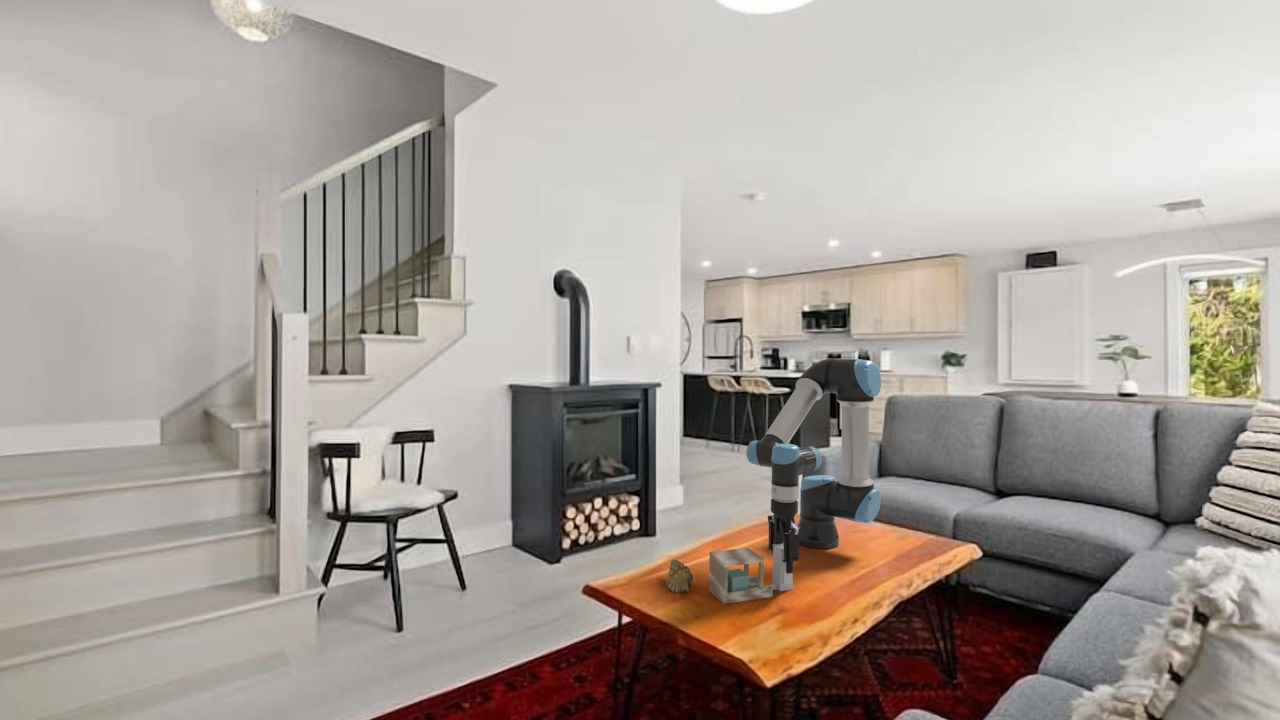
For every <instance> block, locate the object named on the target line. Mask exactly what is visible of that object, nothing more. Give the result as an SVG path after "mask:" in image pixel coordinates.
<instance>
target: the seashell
mask: <svg viewBox="0 0 1280 720" xmlns="http://www.w3.org/2000/svg"><path fill="white" fill-rule="evenodd" d="M668 574H669V575H668V578H667V579H666V581H665V584H666V586H667V588H668V590H670V591H671V592H673V593H684V592H689V589H690V588H689V586H688V585H689V584H691V583H693V581H694V575H693V573H692V572H691V568H689V566H687V565H685V563H682V561H679V560H678V559H675V558H674V559H672V560H671V562H670V566H669V570H668Z"/></svg>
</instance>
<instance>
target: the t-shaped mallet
mask: <svg viewBox="0 0 1280 720" xmlns="http://www.w3.org/2000/svg"><path fill="white" fill-rule="evenodd" d="M783 560H785V556H784V545H783V544H774V545H773V554H772V584H769V585H767V584H766V585H763V587H770V586H771V587H772V588H773V591H776V590H777V591H779V592H783V591H785V592H786V591H790V590H791V591H793V583H794V582H793V579H794V576H793V575H794V574H793V573H794V572H793V573H792V584H785V585H784V584H782V576H783ZM749 577H750V575H748V574H746V573H745V572H744V570H742V569H740V568H736V569H735V568H734V569H728V590H727V592H734V591H741V590H749V589H756V588H758V586H751V587H748V581H749Z"/></svg>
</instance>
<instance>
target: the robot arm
mask: <svg viewBox="0 0 1280 720" xmlns="http://www.w3.org/2000/svg"><path fill="white" fill-rule="evenodd" d="M881 387H882V376H881V374H880V370H879V367H878V366H877V365H876V363H875V362H874V361H871V360H867V359H860V358H859V359H857V358H855V359H853V358H851V359H850V358H848V359H847V358H846V359H845V358H826V359H822V360H820V361H817V362H815V364H813V365H811V366H810V367H808V368H807V369H806V370H805V371H804V372H803V373H802V374H801V375H800V376H799V378H798V379H797V381H796V383H795V389H794V390H793V392H792V394H791V395H790V397H789V398H788V400H787V401H786V403H785V404H784V406H783V407H782V409H781V410H780V411H779V413H778V414H777V415H776V418H775V419H774V421H773V422H772V424H771V425H770V426H769V428H768V429H767V431H766V432H765V434H764V435H763V437H762V438H761V440H760V439H759V440H758V439H757V440H752V441H750V442H749V444H748V445H747V447H746V453H745V454H746V458H747V461H748V462H749V463H750V464H752V465H756V466H759V467H764V468H765V467H766V468H770V469H771V489H770V491H771V492H770V497H771V499H770V512H771V513H772V514H771V515H768V516H767V521H768V550H769V551H771V553H772V555H773V545H774V544H783V545H784V556H785V560H783V576H782V584H784V585H785V584H792V585H793V582H792V573H794V562H798V561H799V556H800V555H799V554H800V552H799V551H800V545H801V546H804V547H807V548H812V549H825V550H826V549H833V548H837V547H838V546H839V545H840V536H839V532H838V529H837V525H836V523H835V518H840V519H843V520H847V521H851V522H855V523H862V524H869V523H872V521H874V520H875V519H876V517H877V515H878V514H879V511H880V506H881V504H882V503H881V502H882V495H881V491H880V490H878V489H877V488H875V486H874V484H875V481H874V480H873V479H872V478H871V477H870V405H871V404H872V403H874V401H875V397H877V396H878V395H879V394H880V392H881ZM829 393H830V394H836V401H837V402H838V403H839V405H840V406H841V475H840V476H839V477H838V478H836V477H835V475H834V476H833V475H828V474H820V475H819V474H818V475H817V474H816V475H809V476H804V477H803V478H802V479H801V482H800V490H799V476H802V475H806V474H810V473H813V472H815V471H817V470H818V469H819V468H820V467H821V466H822V462H823V458H822V457H823V456H822V454H821V452H820V451H819V450H818V449H817V448H816V447H814V446H810V445H809V446H806V445H805V446H798V445H796V444H793V443H790V441H791V440H792V439H793V437H794V435H795V434H796V432H797V430H798V429H799V428H800V426H801V425H802V423H803V421H804V420H805V418H806V417H807V415H808V414H809V412H810V410H811V409H812V407H813V405H814V404H815V402H817V401H818V400H821V398H822V397H823V396H824V395H825V394H829ZM799 491H800V492H799ZM799 493H800V495H799ZM799 496H800V502H799V501H798V500H799ZM799 503H800V506H799ZM799 507H800V509H799ZM798 512H800V513H799V520H798V522H797V525H796V521H795V516H796V515H797V514H798Z"/></svg>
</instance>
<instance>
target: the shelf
mask: <svg viewBox="0 0 1280 720" xmlns="http://www.w3.org/2000/svg"><path fill="white" fill-rule="evenodd" d="M708 559H709V562H708V563H709V564H708V565H709V566H708V568H709V569H708V570H709V571H708V574H709V575H708V591H709V593H711V594H712V595H713V596H714V597H715V598H716V599H717V600H719V601H720V602H721V603H722V604H724V605H725V604H726V605H727V604H732V603H739V602H746V601H752V600H760V599H766V598H772V597H774V596H773V594H774V593H773V591H774V590H773V588H772V587H771V586H770V587H763V586H764V579H765V578H764V577H765V576H764V572H765V571H764V570H765V558H764V557H763V556H761V555H759V554H758V553H756V552H754V550H751V549H750V548H748V547H741V548H734V549H733V548H732V549H725V550H713V551H709V558H708ZM750 564H751V565H752V564H758V576H757V575H752V576H750V575H749V570H750V568H749V566H750ZM742 565H743V572H745V573H746V574H748V575H749V581H748V588H752V587H758V588H756V589H749V590H741V591H734V592H727V590H728V570H729V567H733V566H734V567H735V566H742Z"/></svg>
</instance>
